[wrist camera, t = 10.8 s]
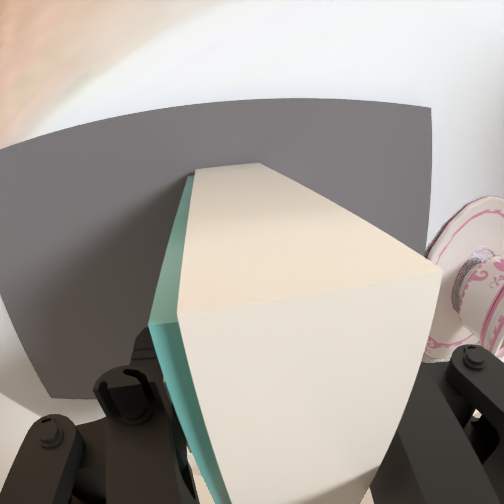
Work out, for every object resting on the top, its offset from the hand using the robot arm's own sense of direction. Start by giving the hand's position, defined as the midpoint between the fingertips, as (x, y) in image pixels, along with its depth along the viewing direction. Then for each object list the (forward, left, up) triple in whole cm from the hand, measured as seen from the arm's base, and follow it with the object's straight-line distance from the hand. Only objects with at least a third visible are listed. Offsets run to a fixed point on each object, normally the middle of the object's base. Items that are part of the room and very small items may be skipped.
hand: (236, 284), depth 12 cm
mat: (0, -1, -2) cm, 2 cm away
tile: (0, 0, -1) cm, 1 cm away
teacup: (+4, +16, -2) cm, 17 cm away
